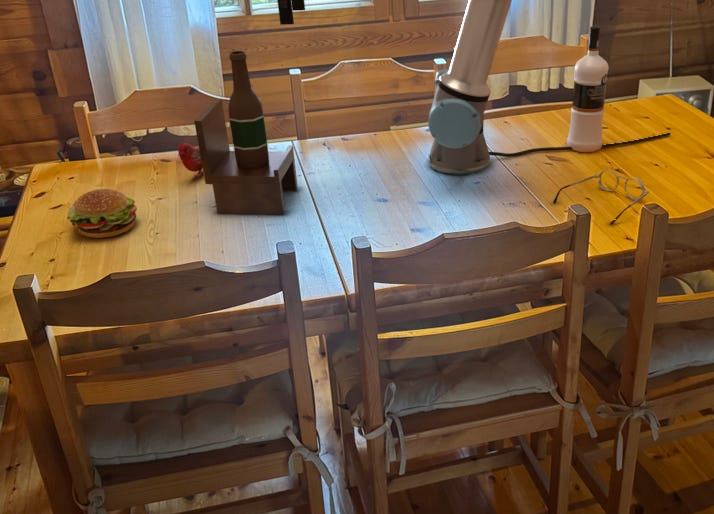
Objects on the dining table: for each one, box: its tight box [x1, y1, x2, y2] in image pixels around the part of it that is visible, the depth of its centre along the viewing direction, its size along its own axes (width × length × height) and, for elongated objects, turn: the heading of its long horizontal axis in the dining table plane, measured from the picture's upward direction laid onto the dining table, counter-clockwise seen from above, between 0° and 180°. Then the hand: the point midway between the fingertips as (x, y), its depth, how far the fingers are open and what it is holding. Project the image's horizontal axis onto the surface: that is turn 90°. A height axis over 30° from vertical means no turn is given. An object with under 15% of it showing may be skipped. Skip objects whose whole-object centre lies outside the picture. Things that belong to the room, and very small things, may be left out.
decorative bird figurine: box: [177, 142, 203, 180], centre depth 199 cm, size 3×18×10 cm, turn 165°
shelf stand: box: [193, 98, 299, 216], centre depth 182 cm, size 16×15×21 cm
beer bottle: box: [228, 50, 269, 169], centre depth 176 cm, size 8×8×24 cm
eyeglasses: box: [552, 168, 650, 225], centre depth 182 cm, size 17×15×5 cm
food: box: [66, 188, 138, 239], centre depth 174 cm, size 14×14×8 cm
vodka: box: [566, 25, 610, 153], centre depth 205 cm, size 9×9×30 cm
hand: (293, 17), depth 176 cm, fingers open, 13 cm apart
